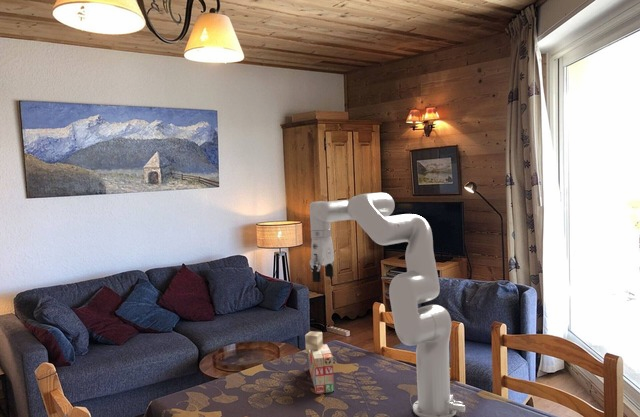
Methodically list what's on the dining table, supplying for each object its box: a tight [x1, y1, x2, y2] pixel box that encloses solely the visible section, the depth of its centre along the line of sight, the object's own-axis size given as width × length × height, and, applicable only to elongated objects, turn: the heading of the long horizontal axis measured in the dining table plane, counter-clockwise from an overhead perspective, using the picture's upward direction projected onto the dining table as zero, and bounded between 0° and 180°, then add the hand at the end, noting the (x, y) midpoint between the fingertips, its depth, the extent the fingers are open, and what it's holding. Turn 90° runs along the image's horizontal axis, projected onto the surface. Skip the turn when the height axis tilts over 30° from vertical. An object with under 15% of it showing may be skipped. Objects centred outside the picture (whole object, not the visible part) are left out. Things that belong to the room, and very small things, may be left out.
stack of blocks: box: [307, 343, 335, 395], centre depth 176 cm, size 21×6×12 cm, turn 8°
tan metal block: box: [304, 330, 324, 351], centre depth 174 cm, size 4×4×5 cm
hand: (323, 279), depth 190 cm, fingers open, 9 cm apart
